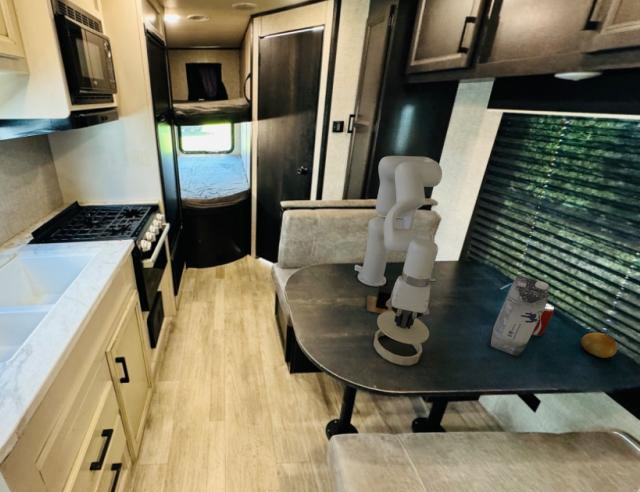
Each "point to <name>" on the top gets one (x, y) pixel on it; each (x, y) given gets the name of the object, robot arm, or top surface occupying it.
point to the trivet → (372, 306)
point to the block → (382, 297)
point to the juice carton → (519, 315)
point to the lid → (403, 328)
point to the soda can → (543, 320)
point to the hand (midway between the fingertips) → (402, 324)
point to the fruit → (599, 344)
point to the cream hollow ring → (393, 357)
